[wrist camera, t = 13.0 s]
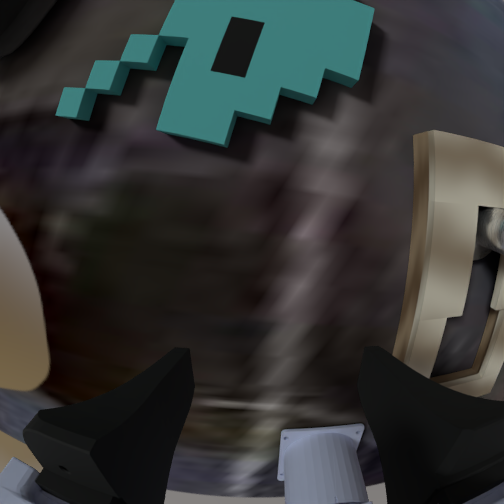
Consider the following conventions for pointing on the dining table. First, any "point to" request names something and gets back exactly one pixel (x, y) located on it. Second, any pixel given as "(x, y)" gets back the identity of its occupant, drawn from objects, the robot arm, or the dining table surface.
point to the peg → (489, 232)
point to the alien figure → (237, 61)
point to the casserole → (20, 21)
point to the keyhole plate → (450, 255)
